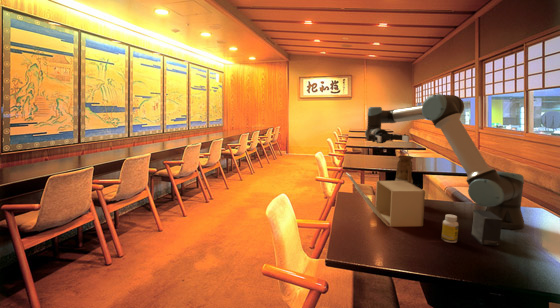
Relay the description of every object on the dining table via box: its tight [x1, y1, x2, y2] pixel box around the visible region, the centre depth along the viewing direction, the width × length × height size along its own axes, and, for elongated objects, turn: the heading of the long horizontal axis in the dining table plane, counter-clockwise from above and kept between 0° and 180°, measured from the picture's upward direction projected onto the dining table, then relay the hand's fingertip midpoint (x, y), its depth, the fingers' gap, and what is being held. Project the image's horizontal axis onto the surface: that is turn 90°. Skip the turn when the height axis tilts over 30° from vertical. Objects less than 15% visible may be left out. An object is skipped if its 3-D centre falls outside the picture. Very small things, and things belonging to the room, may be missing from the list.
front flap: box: [345, 171, 390, 227], centre depth 144 cm, size 1×20×26 cm
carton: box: [375, 180, 426, 228], centre depth 145 cm, size 14×20×16 cm
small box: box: [470, 209, 502, 247], centre depth 123 cm, size 11×6×10 cm, turn 169°
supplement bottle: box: [441, 213, 460, 244], centre depth 123 cm, size 5×5×10 cm
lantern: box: [394, 147, 414, 184], centre depth 172 cm, size 15×10×30 cm
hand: (394, 139), depth 152 cm, fingers open, 13 cm apart
